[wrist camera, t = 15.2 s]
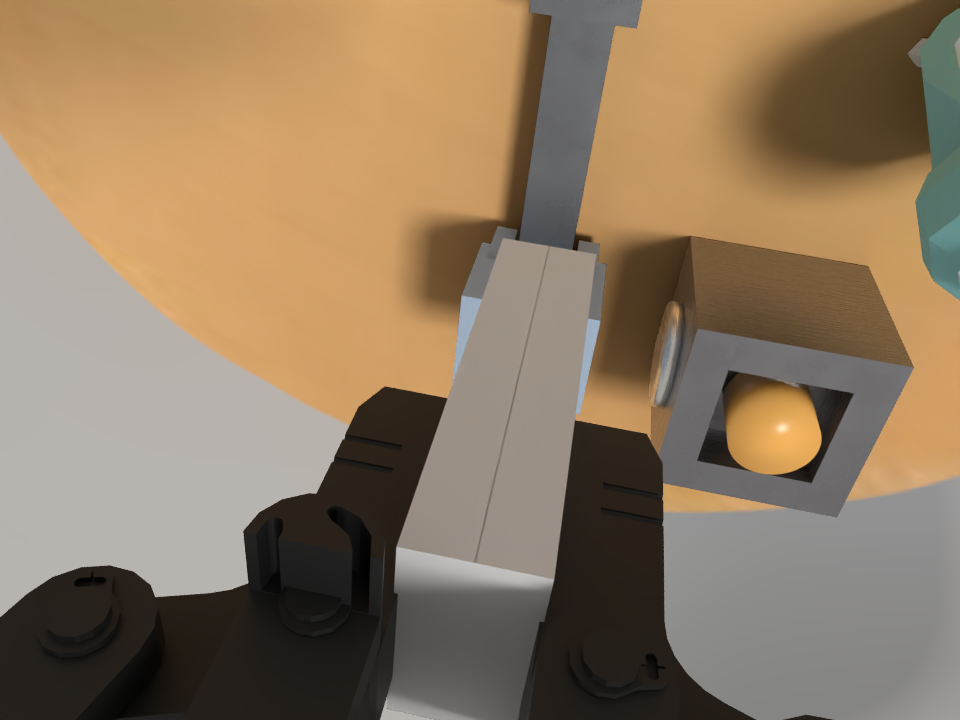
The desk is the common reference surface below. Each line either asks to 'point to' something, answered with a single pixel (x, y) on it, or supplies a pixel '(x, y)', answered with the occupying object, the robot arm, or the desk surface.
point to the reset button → (770, 424)
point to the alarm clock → (941, 153)
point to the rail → (568, 112)
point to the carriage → (479, 282)
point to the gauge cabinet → (773, 367)
